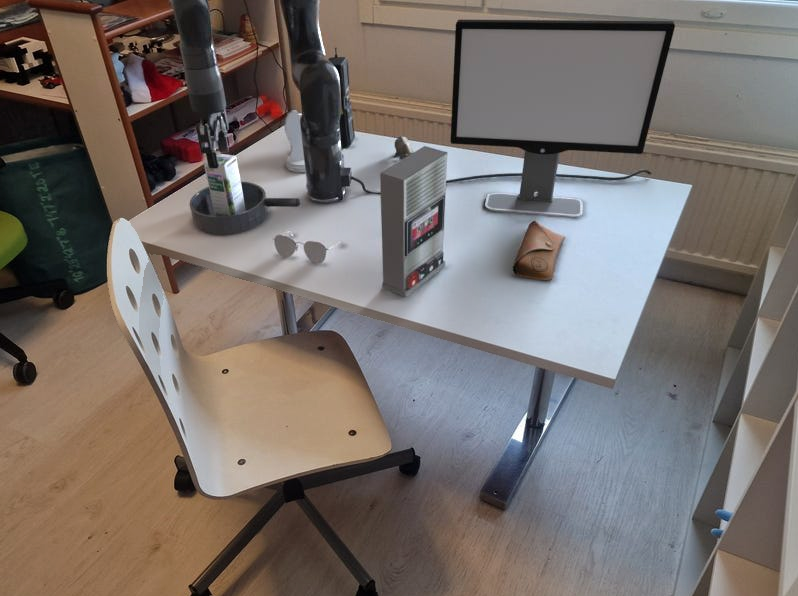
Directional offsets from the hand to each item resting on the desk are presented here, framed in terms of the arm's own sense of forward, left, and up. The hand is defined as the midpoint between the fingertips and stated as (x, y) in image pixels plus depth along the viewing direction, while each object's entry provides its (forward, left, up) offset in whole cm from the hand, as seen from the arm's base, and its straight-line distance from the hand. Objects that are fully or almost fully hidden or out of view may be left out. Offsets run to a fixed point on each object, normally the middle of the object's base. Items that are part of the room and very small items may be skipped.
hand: (219, 159), depth 146 cm
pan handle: (-13, 0, -12) cm, 18 cm away
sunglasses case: (-72, +16, -15) cm, 75 cm away
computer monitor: (-73, -6, -15) cm, 75 cm away
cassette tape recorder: (-46, +25, -15) cm, 54 cm away
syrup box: (0, 0, -14) cm, 14 cm away
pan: (0, 0, -15) cm, 15 cm away
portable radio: (-22, -43, -15) cm, 51 cm away
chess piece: (-13, -29, -15) cm, 35 cm away
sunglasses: (-22, +15, -15) cm, 30 cm away
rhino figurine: (-41, -29, -15) cm, 52 cm away
